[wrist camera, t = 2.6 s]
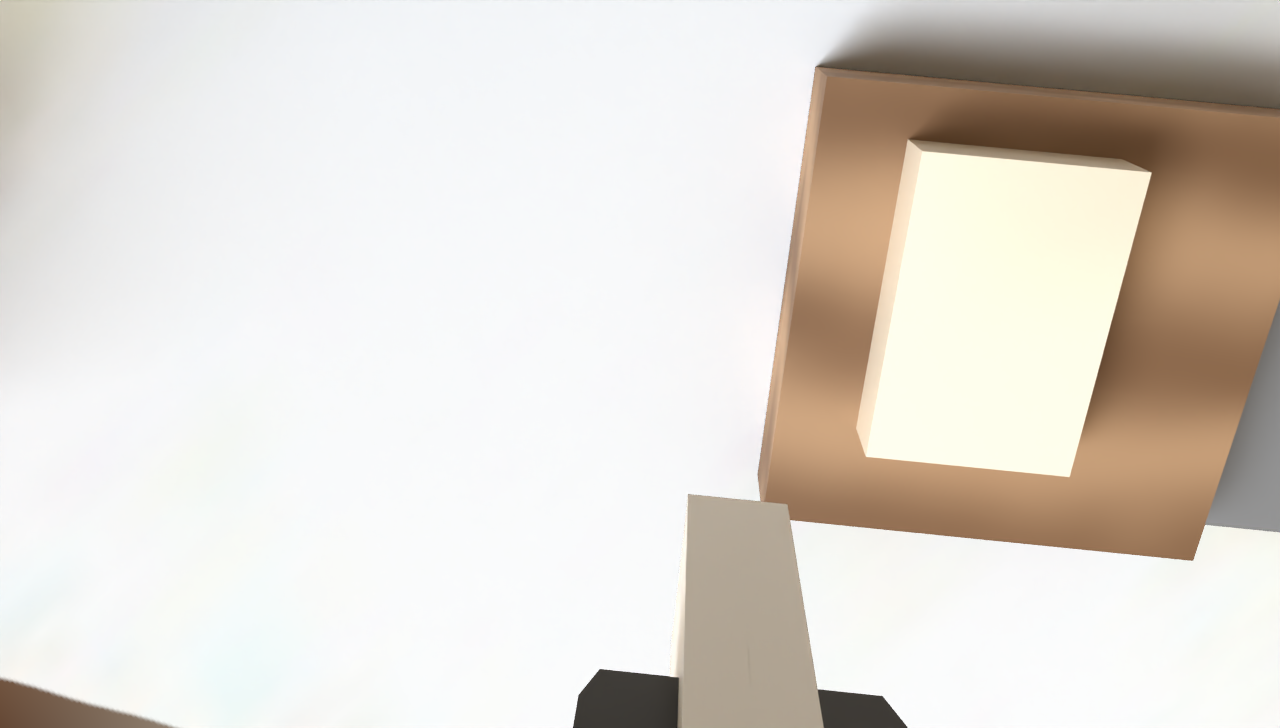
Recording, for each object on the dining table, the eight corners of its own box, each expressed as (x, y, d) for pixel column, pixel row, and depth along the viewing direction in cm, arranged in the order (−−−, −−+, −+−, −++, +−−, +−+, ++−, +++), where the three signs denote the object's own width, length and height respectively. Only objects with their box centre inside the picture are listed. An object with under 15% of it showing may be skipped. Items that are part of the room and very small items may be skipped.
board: (815, 66, 31) (826, 76, 28) (1280, 109, 30) (1338, 123, 28) (757, 474, 36) (762, 517, 33) (1154, 514, 35) (1192, 560, 33)
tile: (907, 139, 28) (922, 151, 27) (1121, 159, 28) (1151, 172, 26) (856, 428, 32) (865, 456, 30) (1047, 447, 32) (1069, 477, 30)
